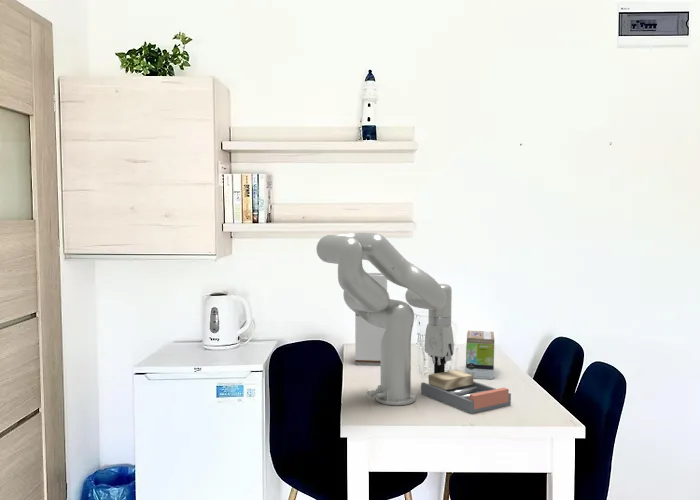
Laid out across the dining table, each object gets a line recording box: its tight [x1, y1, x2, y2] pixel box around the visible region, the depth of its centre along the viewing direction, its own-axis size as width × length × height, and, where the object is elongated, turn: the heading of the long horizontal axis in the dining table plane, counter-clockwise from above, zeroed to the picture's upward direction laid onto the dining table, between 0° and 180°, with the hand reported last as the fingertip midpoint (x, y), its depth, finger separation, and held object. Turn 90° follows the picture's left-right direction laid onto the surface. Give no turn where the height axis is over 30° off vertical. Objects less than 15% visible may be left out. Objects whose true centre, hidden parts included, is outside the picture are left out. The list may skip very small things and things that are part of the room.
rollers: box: [428, 383, 488, 400], centre depth 198 cm, size 12×22×2 cm, turn 31°
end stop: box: [470, 387, 510, 409], centre depth 188 cm, size 14×2×4 cm, turn 121°
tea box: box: [465, 330, 495, 380], centre depth 228 cm, size 15×10×15 cm
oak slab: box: [428, 369, 474, 390], centre depth 203 cm, size 12×8×3 cm, turn 121°
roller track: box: [420, 380, 512, 415], centre depth 197 cm, size 16×24×4 cm, turn 31°
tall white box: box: [354, 272, 388, 367], centre depth 245 cm, size 11×11×35 cm
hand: (439, 375), depth 207 cm, fingers closed
